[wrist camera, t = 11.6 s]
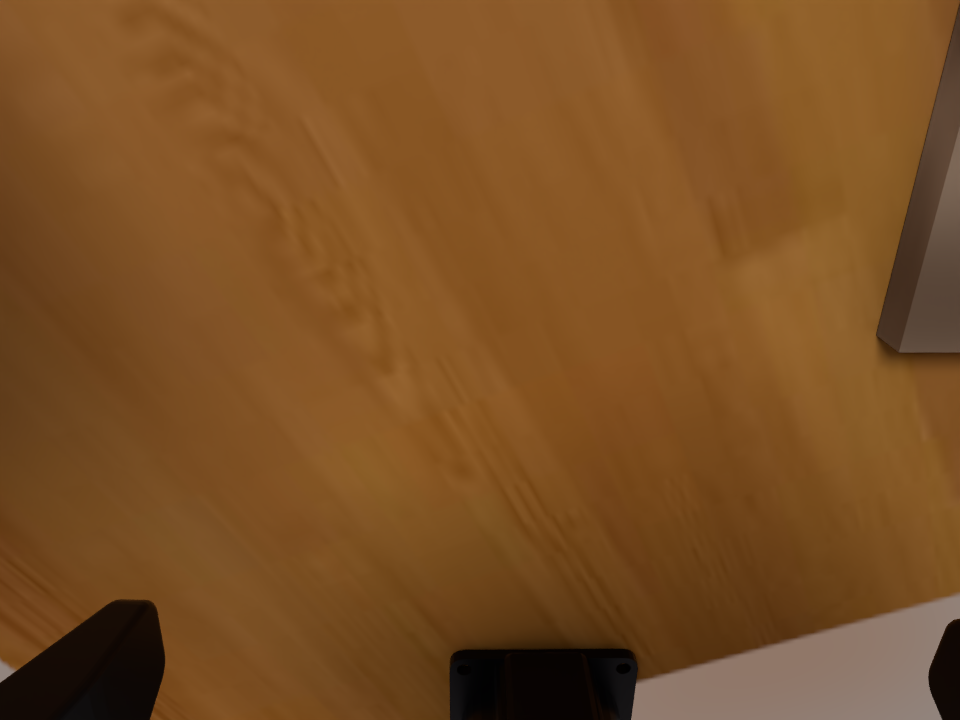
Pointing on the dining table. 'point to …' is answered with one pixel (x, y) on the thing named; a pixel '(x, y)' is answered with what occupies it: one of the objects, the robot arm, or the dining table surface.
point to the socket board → (931, 234)
